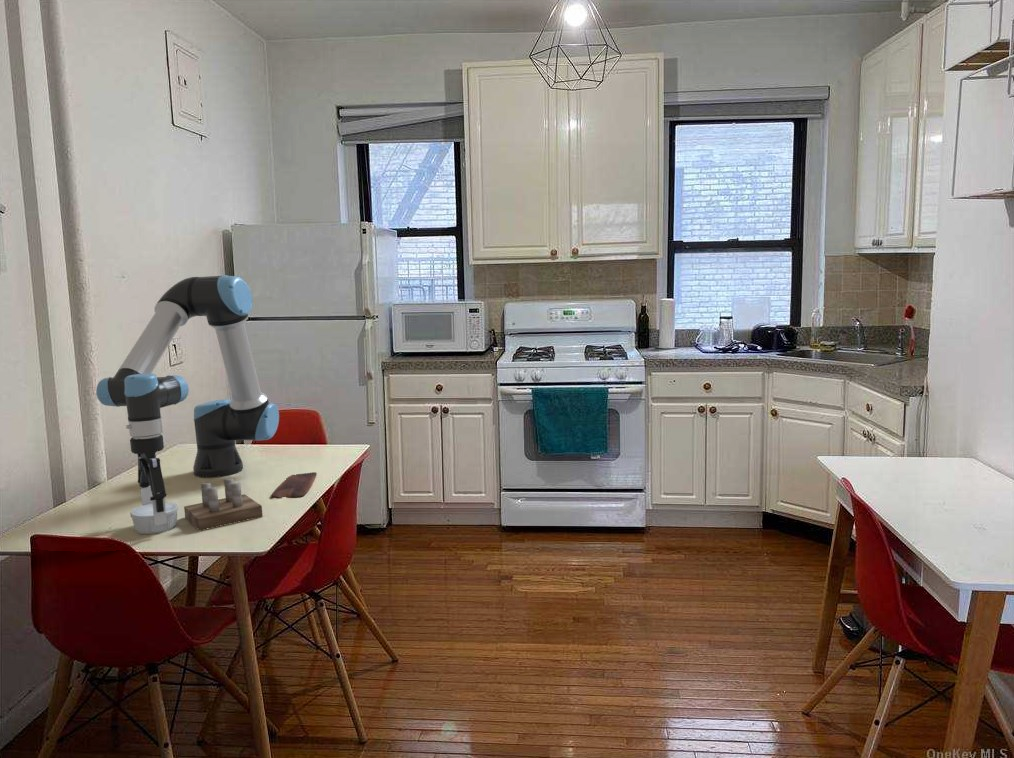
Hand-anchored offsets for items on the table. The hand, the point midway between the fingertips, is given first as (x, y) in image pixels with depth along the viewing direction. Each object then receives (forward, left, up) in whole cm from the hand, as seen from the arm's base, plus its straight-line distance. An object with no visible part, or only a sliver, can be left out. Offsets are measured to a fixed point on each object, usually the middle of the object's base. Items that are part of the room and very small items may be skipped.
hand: (154, 517), depth 196 cm
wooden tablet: (-13, +42, -4) cm, 45 cm away
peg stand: (+3, +16, -3) cm, 17 cm away
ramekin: (0, 0, -3) cm, 3 cm away
